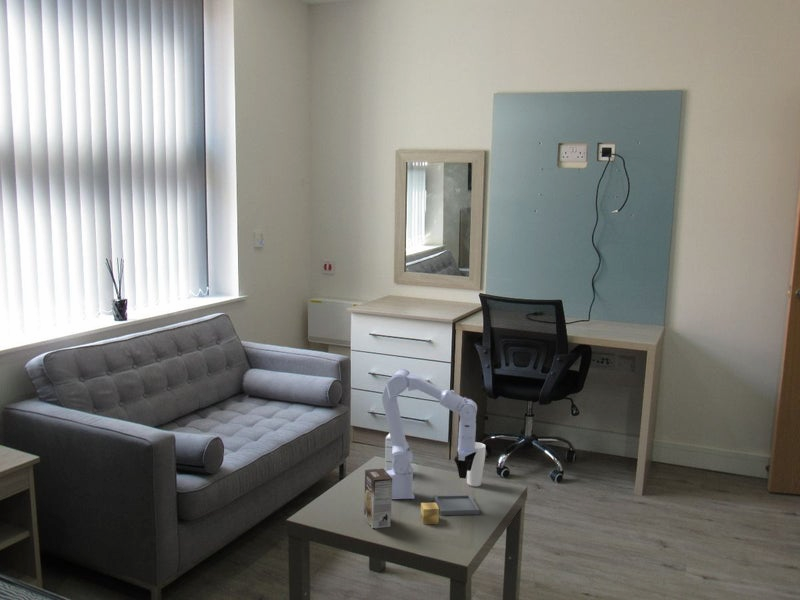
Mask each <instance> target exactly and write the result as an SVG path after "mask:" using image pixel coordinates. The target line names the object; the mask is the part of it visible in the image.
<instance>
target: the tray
mask: <svg viewBox="0 0 800 600" xmlns="http://www.w3.org/2000/svg"><path fill="white" fill-rule="evenodd" d="M433 501H434V503H437V506H438V508H439V515H440V516H456V515H457V516H460V515H479V514H480V511H481V510H480V508H479V506H478V505H477V503H476V501H475V500H474V498H473V496H472V495H471V493H470V494H469V493H463V494H462V493H461V494H433Z"/></svg>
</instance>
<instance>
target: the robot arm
mask: <svg viewBox="0 0 800 600" xmlns="http://www.w3.org/2000/svg"><path fill="white" fill-rule="evenodd" d="M406 389H407V391H409V392H411V391H416V390H418V391H420V392H422V393H424V394H427V395H429V396H431V397H432V398H435V399H437V400H438V403H439V405H440V406H442V407H444V408H446V409H448V410H450V411H451V412H454V413H455V414H458V415H459V423H458V424H459V425H458V440H457V441H458V442H457V453H458V456H455V457H453V458H454V463H455V465H456V467H457V472H458V477H459V479H467V471H470V470H471V468H472V463H473V460H474V457H475V455H476V453H477V452H478V449H475V442H476V434H477V433H476V431H477V423H476V422H477V414H478V413H477V412H478V405H477V403H476V402H475V401H474V400H473V399H472V398H468V397H466V396H464V397H463V396H461V395H459V394H457V393H456V392H455V390H453V389H451V390H449V389H445V390H442V389H441V388H439V387H437V386H435V385H433V384H432V383H430V382H429V381H427V380H425V379H424V378H422V377H420V376H419V375H417V374H416V373H414V372H412V371H409V370H407V369H406V368H400V369H398V370H396V371H395V373H393V374H392V375H391V377H390V378H389V379H388V380H387V382H386V385H385V388H384V390H383V392H382V395H381V400H382V405H383V409H384V415H385V418H386V423H387V427H388V432H389V433H390V437H391V442H392V456H393V461H392V470H389V471H386V472H387V473H388V474H389V475H390V476H391V477H392V500H409V499H410V500H411V499H412V500H414V499H415V498H416V497H415V495H414V492H413V481H414V480H413V478H414V477H413V476H414V469H413V467H412V465H411V464H412V463H413V461H414V458H415V457H414V452H413V451H412V450H411V448H410V446H409V442H407V439H406V435H405V434H406V433H405V430H404V425H403V421H402V416H401V412H400V408H399V402H398V397H399V395H400V394H402V393H403V392H405V391H406ZM389 433H388V434H389Z"/></svg>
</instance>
